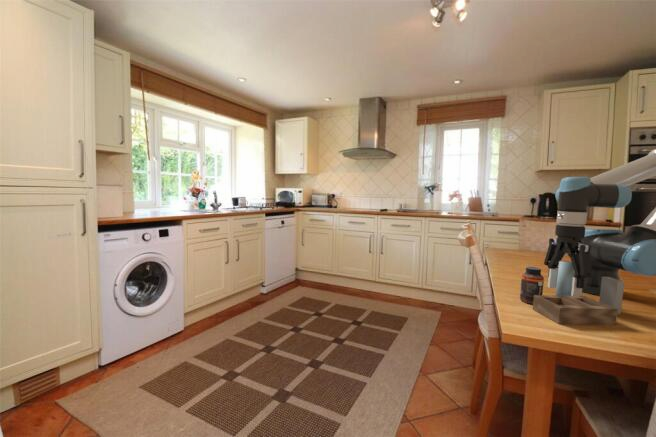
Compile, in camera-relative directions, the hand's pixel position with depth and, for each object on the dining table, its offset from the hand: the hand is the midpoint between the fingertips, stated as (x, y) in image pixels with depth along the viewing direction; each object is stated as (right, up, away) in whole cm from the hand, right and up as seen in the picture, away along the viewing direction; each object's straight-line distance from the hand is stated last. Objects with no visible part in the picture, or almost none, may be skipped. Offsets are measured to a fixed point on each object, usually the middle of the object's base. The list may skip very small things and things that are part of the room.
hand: (563, 292), depth 99 cm
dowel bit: (0, -3, 0) cm, 3 cm away
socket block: (-8, -4, -13) cm, 16 cm away
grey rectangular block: (+8, -4, -8) cm, 12 cm away
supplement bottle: (-12, -3, -1) cm, 12 cm away
